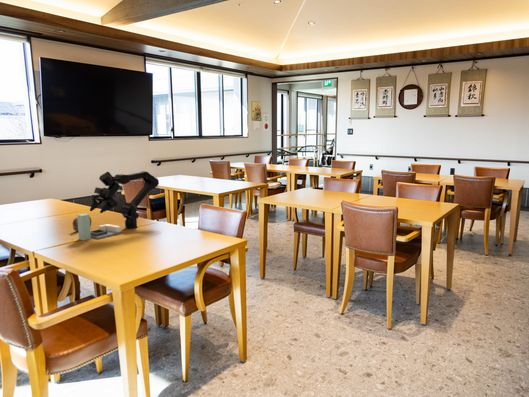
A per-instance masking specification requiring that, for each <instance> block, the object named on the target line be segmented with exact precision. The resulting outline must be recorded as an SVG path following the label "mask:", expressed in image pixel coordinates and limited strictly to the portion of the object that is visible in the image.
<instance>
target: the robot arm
mask: <svg viewBox="0 0 529 397" xmlns="http://www.w3.org/2000/svg"><path fill="white" fill-rule="evenodd" d="M98 179H99V181H100V182H101V183H102V184H103V185H104V186H105V187H102V188H101V187H97V186H95V189H94V191H93V193H94V194H92V195H91V196H90V199H91V205H90V207H89V211H90V212H92V211H94V210H96V209H97V208H98V207H99V206H101V204H102V203H104V205H103V206H102V207H101V209H100V211H99V213H100V214H102V213H105V212H107V211H108V210H110V209H113V208H116V207H117V206H118V205H119V203H118V201H117V200H116V199H115V198H116V194H118V192H119V191H123V190H124V188H123V185H126V184H128V183H130V182H131V181H135V180H140V179H142V181H143V182H144V183H143V187H142V188H141V189H140V190H139V191H138V193H137V194H136V195H135V197H134V198H133V199H132V200H131V201H130V202H125V203H124V204H123V205H122V208H120V209H121V210H120V211H121V215H122V217H123V218H124V227H125V228H126V229H127V230H129V229H138V227H139V226H138V222H137V221H138V219H139V218H140V214H139V213H138V212H137V210H138V206H139V205H140V204H141V203H142V202H143V200H144V199H145V198H146V197H147V196H148V194H149V193H150V191H153V190H154V189H156V188H157V187H158V186H159V184H160V183H159V179H158V178H157V177H155V176H154V175H153V174H150V172H148V171H146V170H145V171H144V170H143V171H139V172H134V173H133V172H132V173H128V174H125V173H123V174H121V173H118V174H115V175H114V176H113V175H112V174H111V172H110V171H106V172H105V173H103V174H101V175H100V176H99V178H98Z"/></svg>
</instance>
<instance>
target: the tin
mask: <svg viewBox="0 0 529 397" xmlns="http://www.w3.org/2000/svg"><path fill="white" fill-rule="evenodd" d="M91 225H92V219H91V217H90V227H91ZM72 229H73V231H75V232H78V219H77V217H76V218H73V220H72Z"/></svg>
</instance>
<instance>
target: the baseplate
mask: <svg viewBox="0 0 529 397" xmlns="http://www.w3.org/2000/svg"><path fill="white" fill-rule="evenodd" d="M90 231H91V239H95V240H102V239H105V238H109V237H112V236H113V237H114V236H116V235H120V234H124V233H125V231H124V230H122V227H121V226H120V225H115V224H111V223H110V224H109V223H106V224H101V225H98V227H97V229H95V230H90Z"/></svg>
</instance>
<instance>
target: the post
mask: <svg viewBox="0 0 529 397" xmlns="http://www.w3.org/2000/svg"><path fill="white" fill-rule="evenodd" d="M90 215H91V214H89V213H80V214H77V216H76V218H77V219H78V231H77V233H78V234H77V235H78V240H81V241H87V240H90V239H92V238H91V231H92V230H91V226H90V218H91V216H90Z"/></svg>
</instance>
